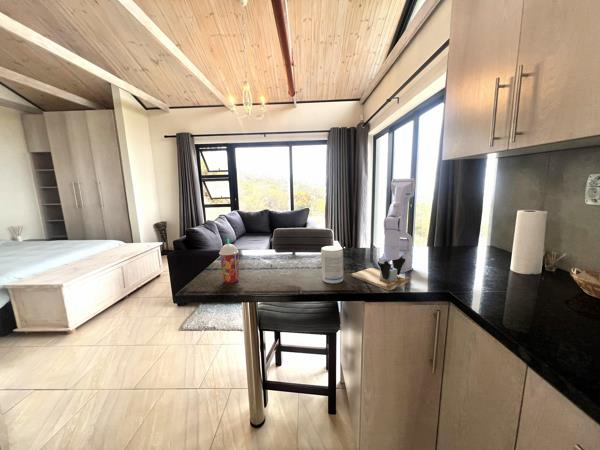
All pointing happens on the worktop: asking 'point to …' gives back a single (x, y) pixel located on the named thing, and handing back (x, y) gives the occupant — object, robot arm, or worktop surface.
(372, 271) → the wall board
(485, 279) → the worktop surface
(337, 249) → the supplement tub
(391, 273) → the cabinet block
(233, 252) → the smoothie
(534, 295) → the worktop surface
